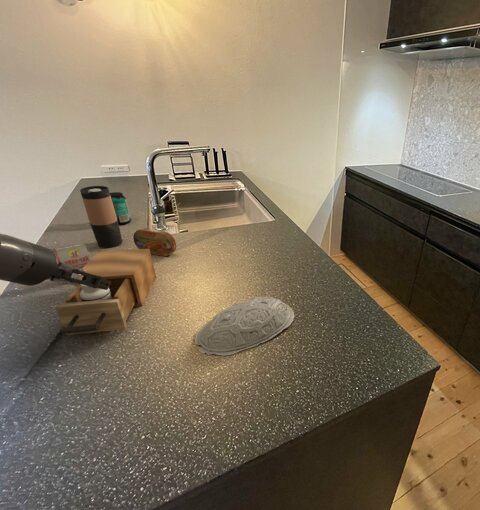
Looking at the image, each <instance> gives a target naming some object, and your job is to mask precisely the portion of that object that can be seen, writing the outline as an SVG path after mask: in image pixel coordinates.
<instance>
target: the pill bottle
mask: <svg viewBox="0 0 480 510" xmlns="http://www.w3.org/2000/svg"><path fill="white" fill-rule="evenodd" d="M80 285H81V288H82V291H81V293H80V297H81V299H82V302H85V301H98V300H110V299H112V295H111V292H110V289H109V288H108V289H107V290H104V289H100V288H93V287H88V286H86V285H82V284H80Z"/></svg>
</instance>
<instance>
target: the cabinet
mask: <svg viewBox="0 0 480 510" xmlns="http://www.w3.org/2000/svg"><path fill="white" fill-rule="evenodd" d="M90 259H91V260H90V261H89V262H88V263H87V264H86V265H85V266H84V267H83V268H82V269H83V270H85V271H86V273H90V274H93V275H97V276H101V277H103V279H115V278H130V277H131V280H132V283H133V287H134V291H135V294H136V298H137V300H136V302H135V304H134V306H133V308H135V307H142V306H143V305H144V303H145V301H146V299H147V297H148V295H149V292H150V291H151V288H152V286H153V284H154V282H155V280H156V278H157V275H156V271H155V270H156V269H155V267H154V261H153V258H152V254H151V253H150V249H138V248H135V249H116V250H115V249H113V250H111V249H110V250H98V251H97V252H96V253H95V254H94V255H93V257H91V258H90ZM76 287H77V286H76ZM76 287H75V288H76Z"/></svg>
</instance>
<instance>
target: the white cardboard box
mask: <svg viewBox="0 0 480 510" xmlns="http://www.w3.org/2000/svg"><path fill="white" fill-rule="evenodd" d="M53 252H54V254H55V256H56V261H57V262H58V263H59V262H62V263H66V264H69V265H70V266H72V267H76V268H79V269H82V268H83V267H84V266H85V265H86V264H87V263H88V262H89V261H90V260H91V259H92V258H91V256H90V253H89V251H88V248H87V245H86V243H81V244H75V245H70V246H66V247H60V248H54V249H53ZM68 269H69V268H68ZM71 270H72V269H71ZM66 281H68V280H66Z"/></svg>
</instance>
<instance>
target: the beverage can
mask: <svg viewBox="0 0 480 510" xmlns="http://www.w3.org/2000/svg"><path fill="white" fill-rule="evenodd" d="M110 196H111V199H112V203H113V206H114V210H115V213H116V217H117V220H118V225H119V226H125V225H127V224H129V223H130V222H131V221H132V218H131V214H130V209H129V206H128V201H127V199H126V197H125V196H124V194H123V192H121V191H120V192H118V191H112V192H110Z"/></svg>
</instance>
